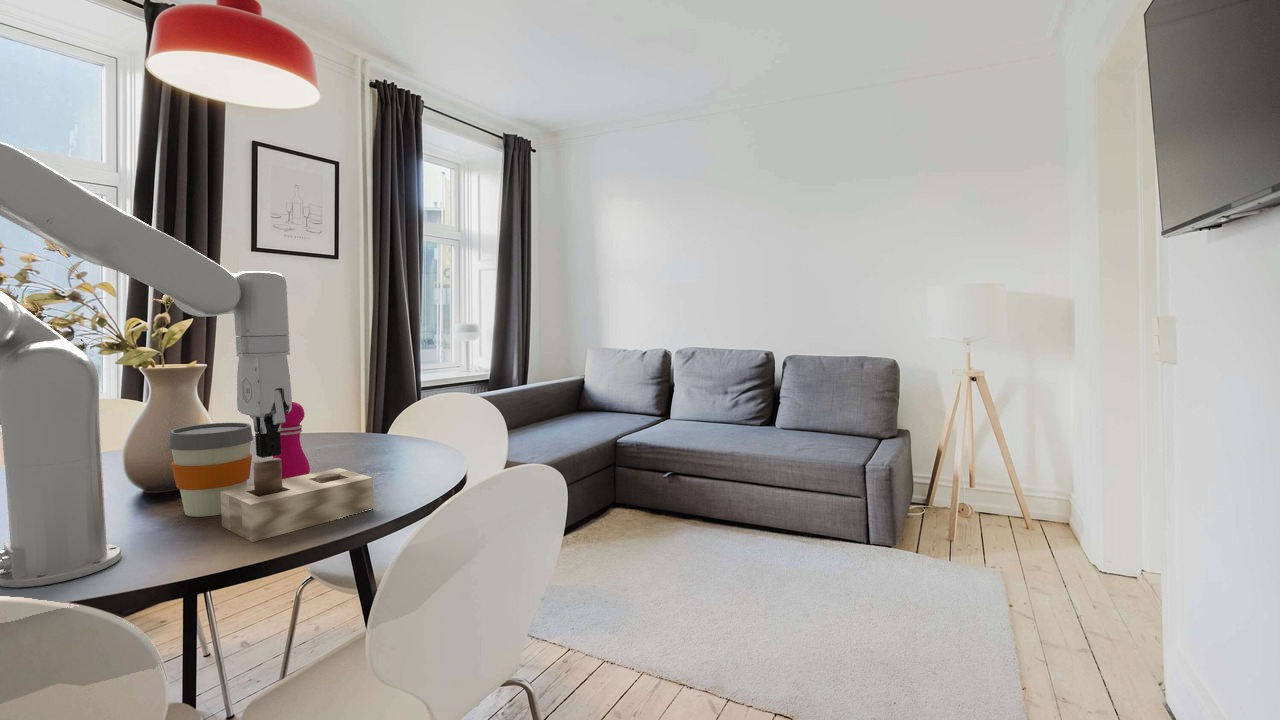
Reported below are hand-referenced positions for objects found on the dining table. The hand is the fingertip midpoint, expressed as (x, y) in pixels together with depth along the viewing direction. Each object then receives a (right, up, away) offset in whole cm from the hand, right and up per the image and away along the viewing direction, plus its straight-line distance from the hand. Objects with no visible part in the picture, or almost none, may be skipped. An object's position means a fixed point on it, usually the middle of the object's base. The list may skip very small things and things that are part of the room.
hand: (268, 455), depth 100 cm
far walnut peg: (+6, -11, +9) cm, 15 cm away
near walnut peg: (0, -7, 0) cm, 7 cm away
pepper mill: (-8, -11, +20) cm, 24 cm away
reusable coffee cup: (-16, -12, +10) cm, 22 cm away
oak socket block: (+3, -12, +5) cm, 13 cm away
